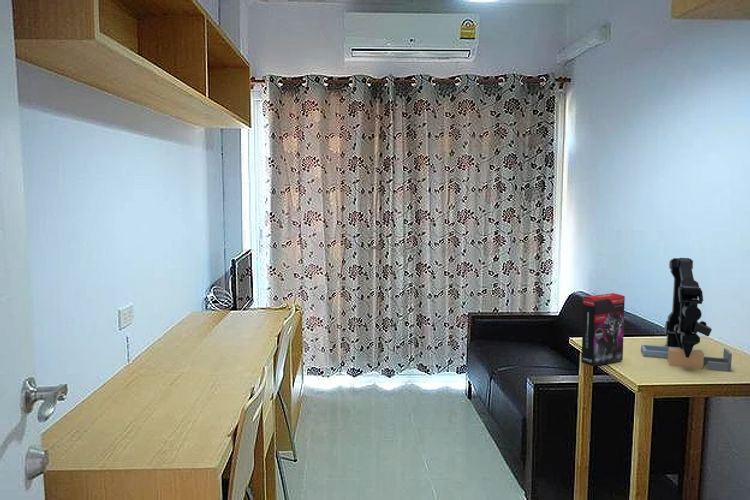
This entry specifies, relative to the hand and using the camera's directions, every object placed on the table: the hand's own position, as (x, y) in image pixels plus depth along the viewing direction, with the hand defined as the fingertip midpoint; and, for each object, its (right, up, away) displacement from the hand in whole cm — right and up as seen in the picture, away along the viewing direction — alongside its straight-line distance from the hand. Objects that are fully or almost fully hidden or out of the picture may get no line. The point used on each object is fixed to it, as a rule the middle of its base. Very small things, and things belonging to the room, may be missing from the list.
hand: (685, 354), depth 241 cm
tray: (-2, -3, +13) cm, 14 cm away
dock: (+11, -5, -3) cm, 12 cm away
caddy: (0, -5, 0) cm, 5 cm away
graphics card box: (-32, -4, +3) cm, 33 cm away
